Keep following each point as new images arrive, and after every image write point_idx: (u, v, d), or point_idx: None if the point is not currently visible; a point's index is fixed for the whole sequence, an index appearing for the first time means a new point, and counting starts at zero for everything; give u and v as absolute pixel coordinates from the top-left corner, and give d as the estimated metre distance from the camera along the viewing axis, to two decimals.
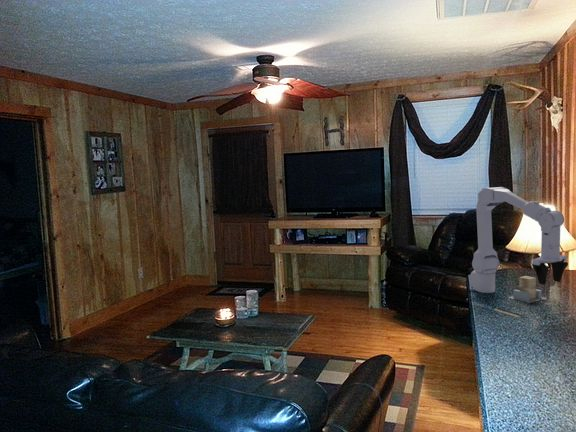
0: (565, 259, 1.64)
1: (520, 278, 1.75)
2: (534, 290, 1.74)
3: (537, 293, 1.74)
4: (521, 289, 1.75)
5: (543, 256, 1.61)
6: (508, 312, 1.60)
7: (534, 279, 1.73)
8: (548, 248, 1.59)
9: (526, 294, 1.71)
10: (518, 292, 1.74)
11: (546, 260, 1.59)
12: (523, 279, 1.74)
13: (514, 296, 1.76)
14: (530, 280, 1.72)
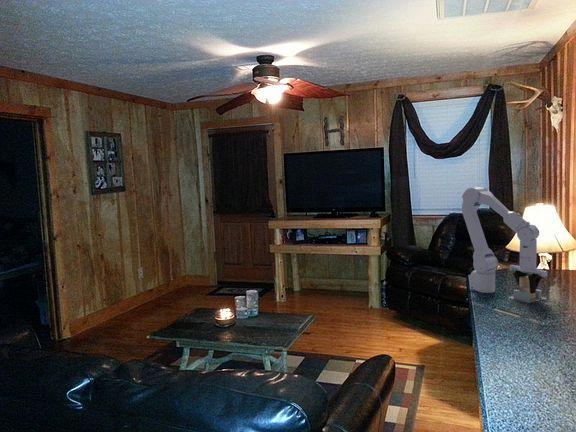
0: (542, 275, 1.68)
1: (520, 278, 1.75)
2: None
3: (537, 293, 1.74)
4: (521, 289, 1.75)
5: None
6: (508, 312, 1.60)
7: None
8: None
9: (526, 294, 1.71)
10: (518, 292, 1.74)
11: (515, 268, 1.77)
12: (523, 279, 1.74)
13: (514, 296, 1.76)
14: None
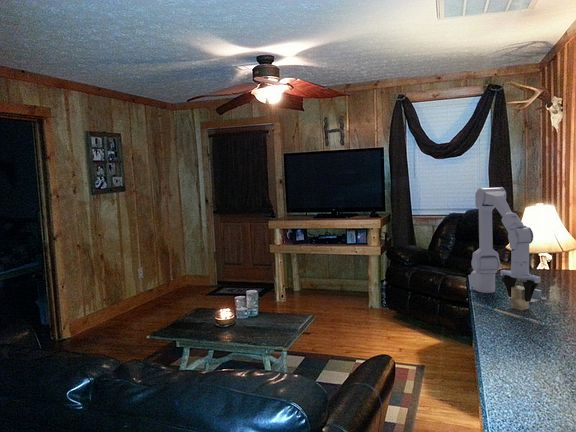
0: (535, 281, 1.56)
1: (512, 288, 1.63)
2: None
3: (537, 293, 1.74)
4: (513, 300, 1.63)
5: None
6: (508, 312, 1.60)
7: None
8: None
9: None
10: None
11: (506, 273, 1.65)
12: (515, 289, 1.62)
13: None
14: (523, 291, 1.60)
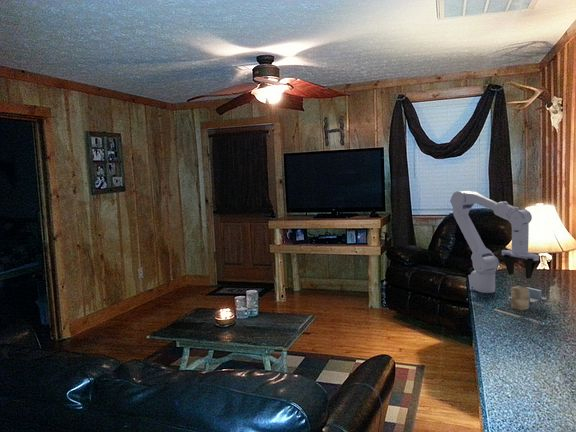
0: (534, 258, 1.68)
1: (512, 288, 1.63)
2: (527, 301, 1.62)
3: (537, 293, 1.74)
4: (513, 300, 1.63)
5: None
6: (508, 312, 1.60)
7: (527, 290, 1.61)
8: None
9: None
10: None
11: (507, 252, 1.78)
12: (515, 289, 1.62)
13: None
14: (523, 291, 1.60)
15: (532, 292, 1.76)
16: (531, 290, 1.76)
